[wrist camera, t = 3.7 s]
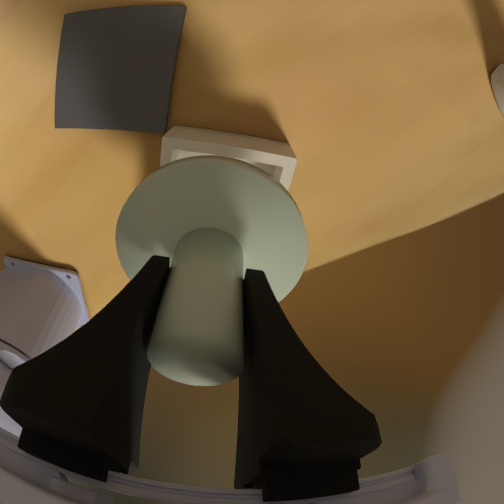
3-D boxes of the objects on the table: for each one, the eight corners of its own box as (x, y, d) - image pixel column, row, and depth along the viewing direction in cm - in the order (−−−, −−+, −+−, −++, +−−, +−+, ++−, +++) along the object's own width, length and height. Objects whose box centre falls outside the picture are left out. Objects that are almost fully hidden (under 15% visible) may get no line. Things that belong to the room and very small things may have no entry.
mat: (58, 126, 15) (55, 128, 15) (67, 14, 11) (64, 14, 10) (166, 131, 16) (164, 133, 16) (186, 7, 12) (185, 5, 11)
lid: (133, 300, 15) (103, 397, 10) (114, 150, 10) (27, 237, 5) (284, 314, 15) (296, 416, 11) (325, 169, 11) (383, 270, 6)
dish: (166, 222, 20) (156, 247, 18) (174, 125, 16) (162, 137, 14) (264, 237, 21) (267, 264, 19) (289, 143, 17) (297, 158, 15)
